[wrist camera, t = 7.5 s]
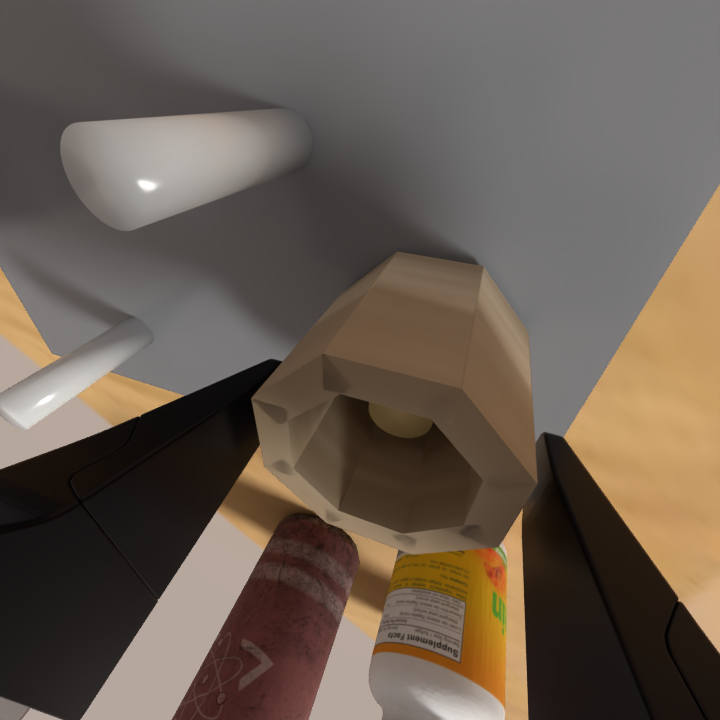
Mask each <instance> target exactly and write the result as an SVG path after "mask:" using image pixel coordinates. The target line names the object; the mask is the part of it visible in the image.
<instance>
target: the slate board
mask: <svg viewBox="0 0 720 720" xmlns="http://www.w3.org/2000/svg"><path fill="white" fill-rule="evenodd" d="M719 184H720V0H0V267H1V269H2V271H3V272H4V274H5V276H6V277H7V279H8V281H9V282H10V284H11V286H12V287H13V289H14V291H15V292H16V294H17V296H18V298H19V299H20V301H21V303H22V304H23V306H24V308H25V309H26V311H27V313H28V314H29V316H30V318H31V319H32V321H33V323H34V324H35V326H36V328H37V329H38V331H39V333H40V334H41V336H42V338H43V339H44V341H45V343H46V344H47V346H48V348H49V349H50V351H51V353H52V354H55V355H58V356H61V358H59V359H58V360H56V361H54V362H53V363H51V364H49V365H47V366H46V367H44V368H42V369H41V370H39V371H37V372H36V373H34V374H32V375H30V376H29V377H27V378H26V379H24V380H22V381H20V382H18V383H17V384H15V385H13V386H12V387H10V388H8V389H7V390H5V391H3V392H1V393H0V416H1V417H2V418H3V419H5V420H6V421H7V422H9V423H10V424H11V425H13V426H15V427H17V428H19V429H22V430H27V429H28V428H30V427H31V426H33V425H34V424H36V423H37V422H39V421H40V420H42V419H43V418H44V417H46V416H47V415H49V414H50V413H51V412H53V411H55V410H56V409H57V408H59V407H60V406H62V405H63V404H65V403H66V402H67V401H69V400H70V399H72V398H73V397H75V396H76V395H78V394H79V393H80V392H82V391H83V390H85V389H86V388H88V387H89V386H91V385H92V384H93V383H95V382H96V381H98V380H99V379H101V378H102V377H104V376H105V375H106V374H108V373H109V372H112V373H115V374H118V375H121V376H124V377H128V378H131V379H134V380H137V381H140V382H143V383H147V384H150V385H153V386H156V387H159V388H162V389H166V390H169V391H172V392H175V393H178V394H181V395H185V396H186V395H188V394H190V393H193V392H195V391H197V390H199V389H202V388H204V387H206V386H209V385H211V384H213V383H215V382H218V381H220V380H222V379H225V378H227V377H229V376H231V375H234V374H236V373H238V372H241V371H243V370H245V369H247V368H250V367H252V366H254V365H257V364H259V363H261V362H263V361H266V360H268V359H276V360H279V361H283V360H284V359H285V358H286V357H287V356H288V355H289V354H290V352H291V351H292V350H293V349H294V348H295V347H296V345H297V344H298V343H299V342H300V341H301V340H302V338H303V337H304V336H305V335H306V334H307V333H308V331H309V330H310V329H311V328H312V327H313V326H314V324H315V323H316V322H317V321H318V320H319V319H320V317H321V316H322V315H323V314H324V313H325V312H326V310H327V309H328V308H329V307H330V306H331V305H332V303H333V302H334V301H335V300H336V299H337V298H338V296H339V295H340V294H341V293H343V292H344V291H345V290H347V289H348V288H349V287H351V286H352V285H353V284H355V283H356V282H357V281H359V280H360V279H361V278H363V277H364V276H365V275H367V274H368V273H369V272H371V271H372V270H373V269H375V268H376V267H377V266H379V265H380V264H381V263H383V262H384V261H385V260H387V259H388V258H389V257H391V256H392V255H393V254H395V253H396V252H397V251H398V252H403V253H409V254H415V255H421V256H427V257H433V258H438V259H444V260H450V261H456V262H462V263H468V264H473V265H479V266H484V268H485V269H486V271H487V272H488V274H489V275H490V277H491V278H492V280H493V281H494V282H495V284H496V285H497V287H498V288H499V290H500V291H501V293H502V294H503V296H504V297H505V299H506V300H507V302H508V303H509V305H510V306H511V308H512V309H513V310H514V312H515V313H516V315H517V316H518V318H519V319H520V321H521V322H522V324H523V325H524V327H525V328H526V330H527V331H528V332H529V348H530V364H531V381H532V397H533V414H534V430H535V443H536V441H537V440H538V438H539V436H540V435H541V434H542V433H543V432H548V433H552V434H556V435H559V436H562V437H564V435H565V434H566V432H567V430H568V429H569V427H570V426H571V424H572V422H573V421H574V419H575V417H576V416H577V414H578V413H579V411H580V409H581V408H582V406H583V405H584V403H585V401H586V400H587V398H588V396H589V395H590V393H591V392H592V390H593V388H594V387H595V385H596V383H597V382H598V380H599V379H600V377H601V375H602V374H603V372H604V370H605V369H606V367H607V366H608V364H609V362H610V361H611V359H612V358H613V356H614V354H615V353H616V351H617V349H618V348H619V346H620V345H621V343H622V341H623V340H624V338H625V336H626V335H627V333H628V332H629V330H630V328H631V327H632V325H633V324H634V322H635V320H636V319H637V317H638V315H639V314H640V312H641V311H642V309H643V307H644V306H645V304H646V302H647V301H648V299H649V298H650V296H651V294H652V293H653V291H654V289H655V288H656V286H657V285H658V283H659V281H660V280H661V278H662V277H663V275H664V273H665V272H666V270H667V268H668V267H669V265H670V264H671V262H672V260H673V259H674V257H675V255H676V254H677V252H678V251H679V249H680V247H681V246H682V244H683V242H684V241H685V239H686V238H687V236H688V234H689V233H690V231H691V230H692V228H693V226H694V225H695V223H696V221H697V220H698V218H699V217H700V215H701V213H702V212H703V210H704V208H705V207H706V205H707V204H708V202H709V200H710V199H711V197H712V196H713V194H714V192H715V191H716V189H717V187H718V186H719ZM369 413H370V416H371V418H372V419H373V421H374V422H375V423H376V425H377V426H378V427H380V428H381V429H382V430H384V431H385V432H387V433H389V434H391V435H394V436H397V437H402V438H416V437H419V436H422V435H424V434H425V433H427V432H428V431H429V430H430V428H431V427H432V424H433V421H432V419H429V418H425V417H422V416H418V415H415V414H411V413H407V412H404V411H400V410H396V409H393V408H389V407H386V406H382V405H378V404H375V403H371V402H369Z"/></svg>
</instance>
